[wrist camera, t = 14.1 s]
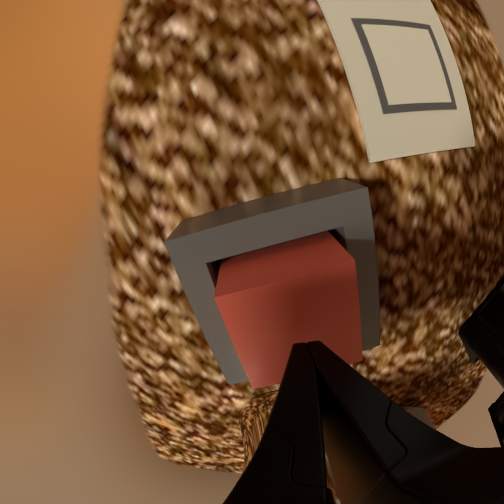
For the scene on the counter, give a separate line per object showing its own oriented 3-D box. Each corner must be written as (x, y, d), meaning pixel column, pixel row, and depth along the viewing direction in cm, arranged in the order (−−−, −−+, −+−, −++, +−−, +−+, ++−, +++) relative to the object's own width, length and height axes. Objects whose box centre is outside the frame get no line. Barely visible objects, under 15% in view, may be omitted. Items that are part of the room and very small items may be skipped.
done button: (341, 318, 12) (362, 360, 10) (251, 342, 13) (252, 389, 10) (327, 230, 11) (355, 259, 8) (221, 259, 11) (213, 297, 8)
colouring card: (472, 145, 11) (476, 146, 11) (369, 162, 12) (372, 162, 11) (380, -70, 5) (382, -73, 5) (270, -80, 6) (270, -83, 5)
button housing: (359, 312, 15) (379, 344, 12) (230, 346, 15) (228, 384, 12) (340, 177, 12) (367, 187, 9) (181, 220, 13) (164, 242, 10)
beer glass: (299, 439, 19) (322, 588, 5) (221, 428, 18) (215, 597, 4) (343, 392, 17) (397, 576, 3) (251, 376, 16) (261, 613, 2)
